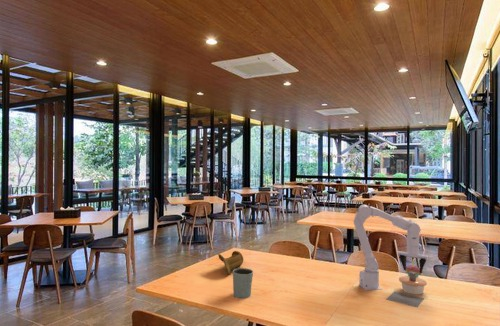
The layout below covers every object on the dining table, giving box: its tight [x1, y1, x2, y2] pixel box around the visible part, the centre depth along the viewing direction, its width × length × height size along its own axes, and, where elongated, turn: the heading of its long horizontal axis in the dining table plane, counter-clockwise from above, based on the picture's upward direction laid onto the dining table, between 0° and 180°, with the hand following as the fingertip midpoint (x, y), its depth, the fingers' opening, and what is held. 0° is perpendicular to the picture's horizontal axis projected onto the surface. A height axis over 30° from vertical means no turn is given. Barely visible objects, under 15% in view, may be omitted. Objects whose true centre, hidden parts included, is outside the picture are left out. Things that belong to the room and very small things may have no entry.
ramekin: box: [400, 282, 425, 295], centre depth 171 cm, size 11×11×5 cm
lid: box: [398, 272, 428, 287], centre depth 171 cm, size 13×13×5 cm
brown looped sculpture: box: [217, 250, 244, 276], centre depth 202 cm, size 18×13×22 cm
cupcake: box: [404, 258, 420, 278], centre depth 193 cm, size 9×8×12 cm
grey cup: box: [232, 267, 254, 299], centre depth 163 cm, size 10×10×12 cm
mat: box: [386, 290, 425, 308], centre depth 160 cm, size 14×14×1 cm
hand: (412, 271), depth 171 cm, fingers open, 7 cm apart
